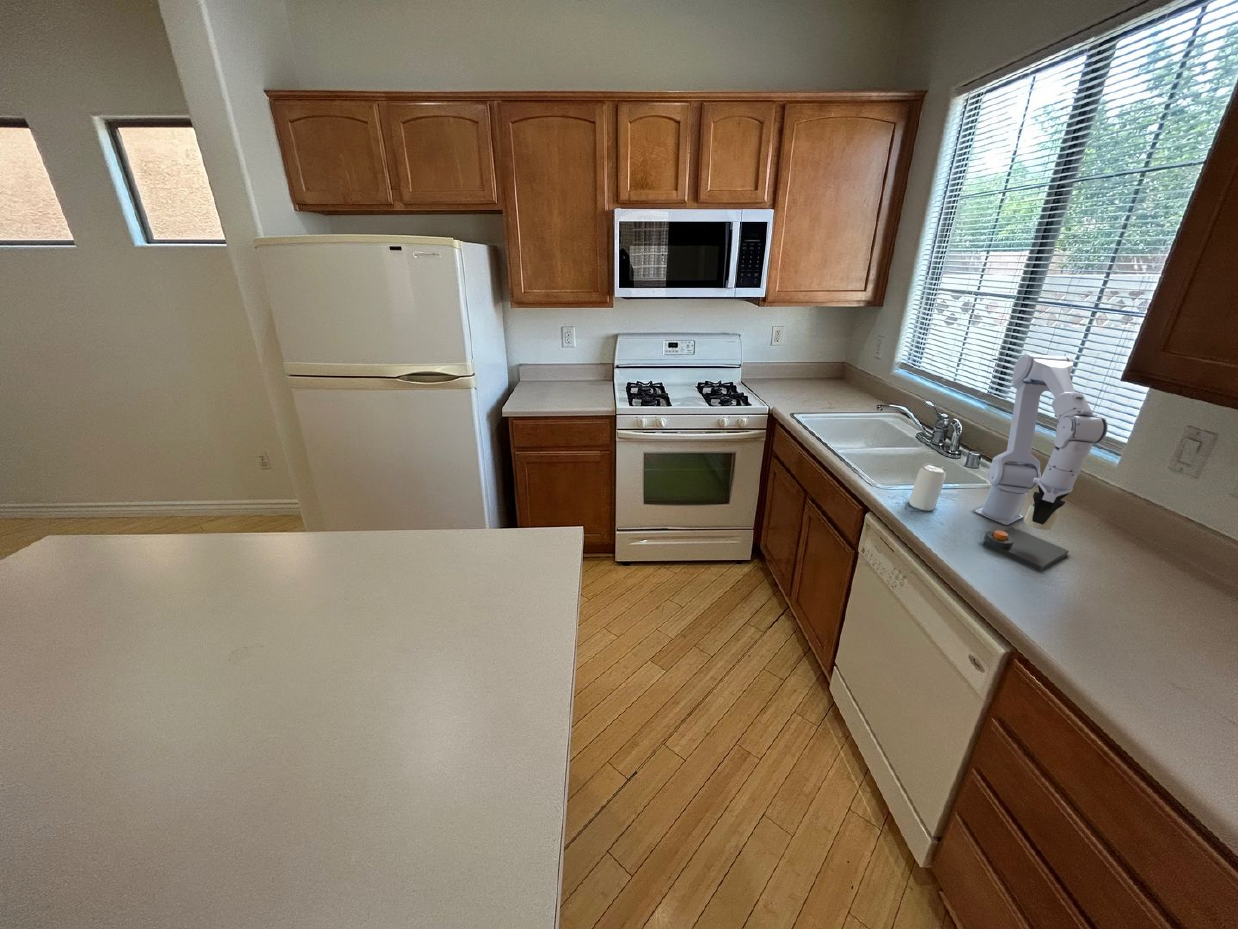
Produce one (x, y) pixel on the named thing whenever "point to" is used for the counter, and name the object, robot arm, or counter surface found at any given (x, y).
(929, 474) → the can
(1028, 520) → the bowl
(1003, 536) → the tare button
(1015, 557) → the scale
